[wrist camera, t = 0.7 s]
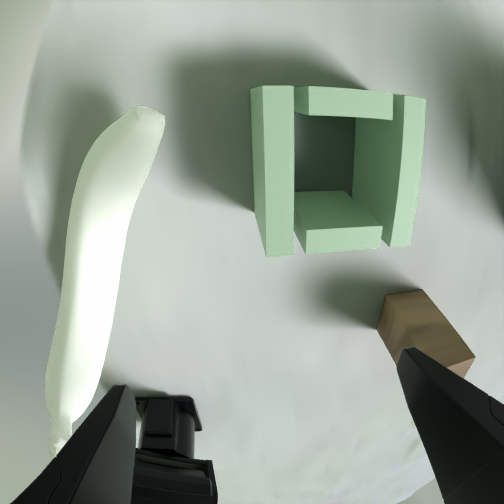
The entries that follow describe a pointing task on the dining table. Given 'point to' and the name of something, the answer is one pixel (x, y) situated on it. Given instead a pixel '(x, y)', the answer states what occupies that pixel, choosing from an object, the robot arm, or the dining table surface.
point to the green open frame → (364, 174)
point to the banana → (96, 263)
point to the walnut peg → (422, 331)
